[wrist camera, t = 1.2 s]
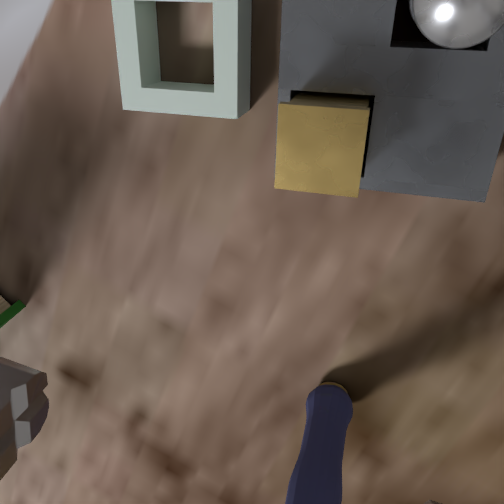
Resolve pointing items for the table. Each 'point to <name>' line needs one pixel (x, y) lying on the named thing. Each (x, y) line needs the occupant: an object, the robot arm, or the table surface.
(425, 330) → the table surface
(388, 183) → the socket block
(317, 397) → the rubber mallet
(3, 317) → the hardback book
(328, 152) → the gold rectangular block
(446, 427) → the table surface
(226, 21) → the pale green square frame
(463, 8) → the metal cylindrical peg
